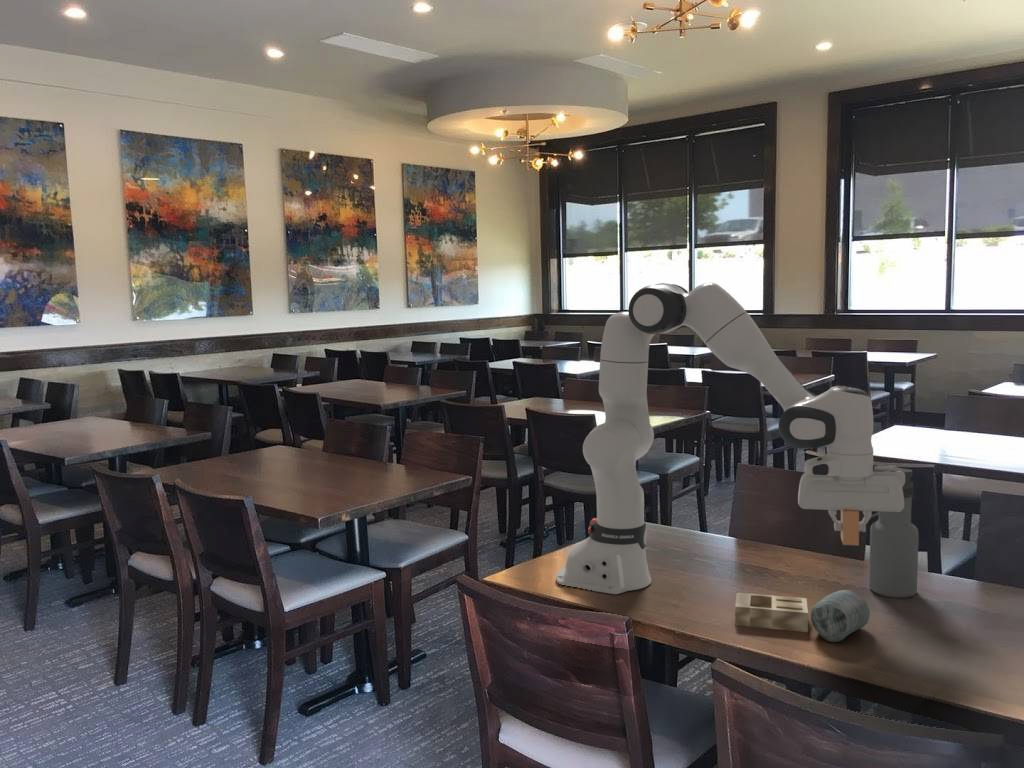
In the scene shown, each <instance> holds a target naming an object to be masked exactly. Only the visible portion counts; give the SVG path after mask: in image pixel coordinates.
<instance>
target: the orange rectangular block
mask: <svg viewBox="0 0 1024 768" xmlns="http://www.w3.org/2000/svg"><path fill="white" fill-rule="evenodd" d="M840 521H842V531H840V540H841V542H842V545H843V546H860V532H859V522H860V511H853V510H840Z"/></svg>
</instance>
